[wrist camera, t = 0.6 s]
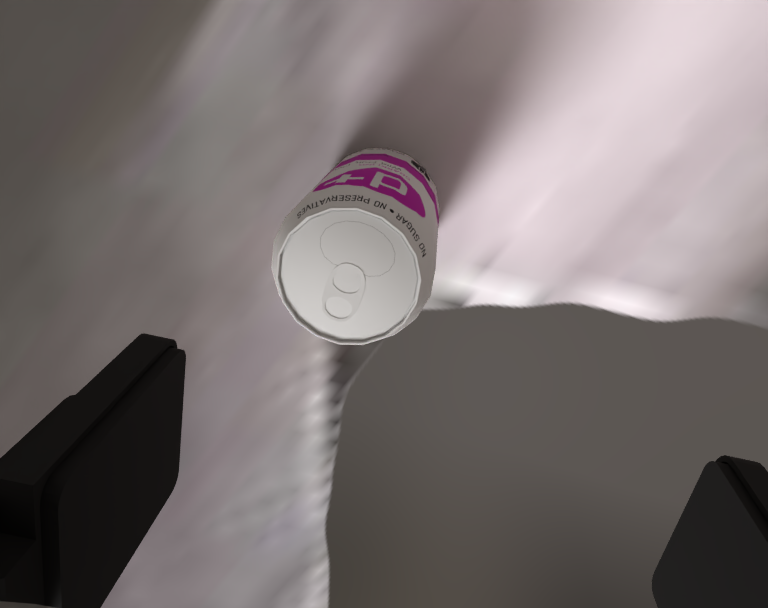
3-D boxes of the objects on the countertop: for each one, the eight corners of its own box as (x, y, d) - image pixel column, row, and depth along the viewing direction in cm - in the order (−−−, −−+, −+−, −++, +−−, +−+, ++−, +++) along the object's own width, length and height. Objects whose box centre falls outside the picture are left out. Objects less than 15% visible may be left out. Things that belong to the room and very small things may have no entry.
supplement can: (341, 129, 42) (286, 169, 28) (456, 170, 42) (459, 230, 28) (308, 239, 45) (245, 324, 31) (416, 276, 45) (401, 377, 31)
